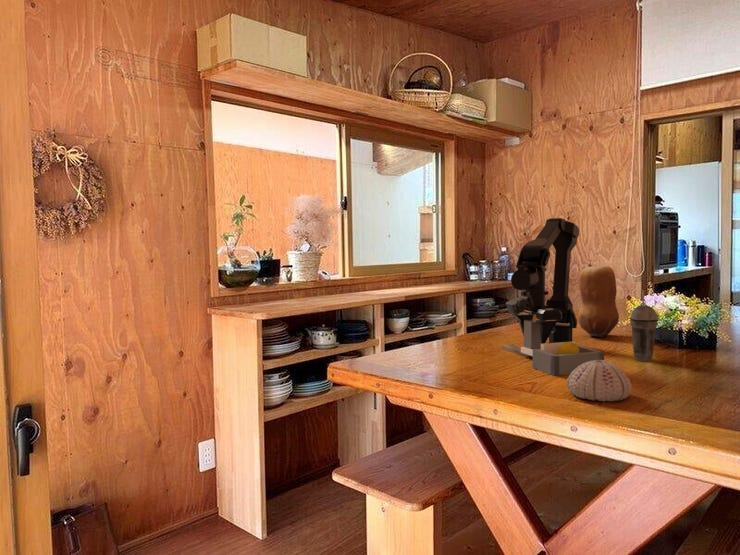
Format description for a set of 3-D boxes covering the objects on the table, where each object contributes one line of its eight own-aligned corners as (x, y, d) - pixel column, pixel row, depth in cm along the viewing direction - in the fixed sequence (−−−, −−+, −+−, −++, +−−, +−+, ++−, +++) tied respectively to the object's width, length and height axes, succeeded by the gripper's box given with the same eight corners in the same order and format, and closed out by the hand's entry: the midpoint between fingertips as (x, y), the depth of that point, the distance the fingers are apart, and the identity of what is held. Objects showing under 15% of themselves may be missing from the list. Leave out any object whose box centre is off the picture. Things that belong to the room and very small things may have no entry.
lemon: (571, 359, 157) (582, 339, 152) (573, 374, 152) (584, 353, 147) (551, 354, 157) (561, 334, 152) (552, 369, 153) (563, 348, 148)
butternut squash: (577, 332, 210) (578, 264, 208) (617, 334, 205) (618, 264, 204) (578, 339, 197) (578, 266, 195) (620, 340, 192) (621, 266, 191)
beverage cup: (660, 359, 163) (662, 289, 162) (652, 363, 158) (654, 291, 157) (634, 356, 168) (635, 288, 167) (625, 360, 163) (626, 290, 161)
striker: (544, 350, 172) (544, 319, 171) (575, 360, 157) (575, 326, 157) (514, 352, 169) (514, 320, 168) (543, 363, 155) (543, 328, 154)
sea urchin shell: (633, 407, 118) (633, 369, 118) (564, 401, 124) (564, 364, 123) (630, 391, 131) (631, 356, 130) (568, 386, 136) (568, 353, 135)
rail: (512, 347, 184) (512, 344, 184) (540, 357, 169) (540, 353, 168) (501, 348, 183) (501, 345, 183) (528, 358, 167) (528, 354, 167)
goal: (579, 363, 160) (580, 345, 159) (604, 371, 150) (604, 352, 150) (532, 367, 155) (532, 349, 155) (554, 375, 146) (554, 356, 145)
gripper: (494, 286, 173) (494, 337, 174) (527, 291, 155) (527, 348, 157) (526, 284, 176) (526, 334, 178) (563, 289, 159) (562, 345, 160)
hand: (534, 340), depth 168 cm, fingers open, 9 cm apart
